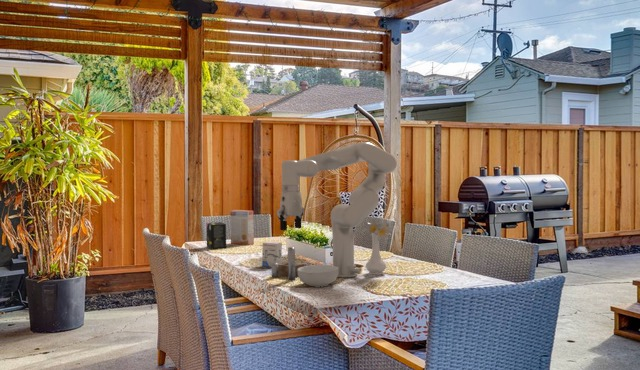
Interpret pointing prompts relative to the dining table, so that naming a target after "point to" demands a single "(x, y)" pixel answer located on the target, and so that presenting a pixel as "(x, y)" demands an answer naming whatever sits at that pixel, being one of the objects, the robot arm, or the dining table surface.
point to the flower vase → (376, 244)
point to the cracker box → (242, 227)
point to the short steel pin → (274, 269)
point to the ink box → (271, 253)
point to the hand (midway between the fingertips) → (290, 229)
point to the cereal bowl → (318, 275)
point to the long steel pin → (291, 263)
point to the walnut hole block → (284, 268)
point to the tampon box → (216, 235)
